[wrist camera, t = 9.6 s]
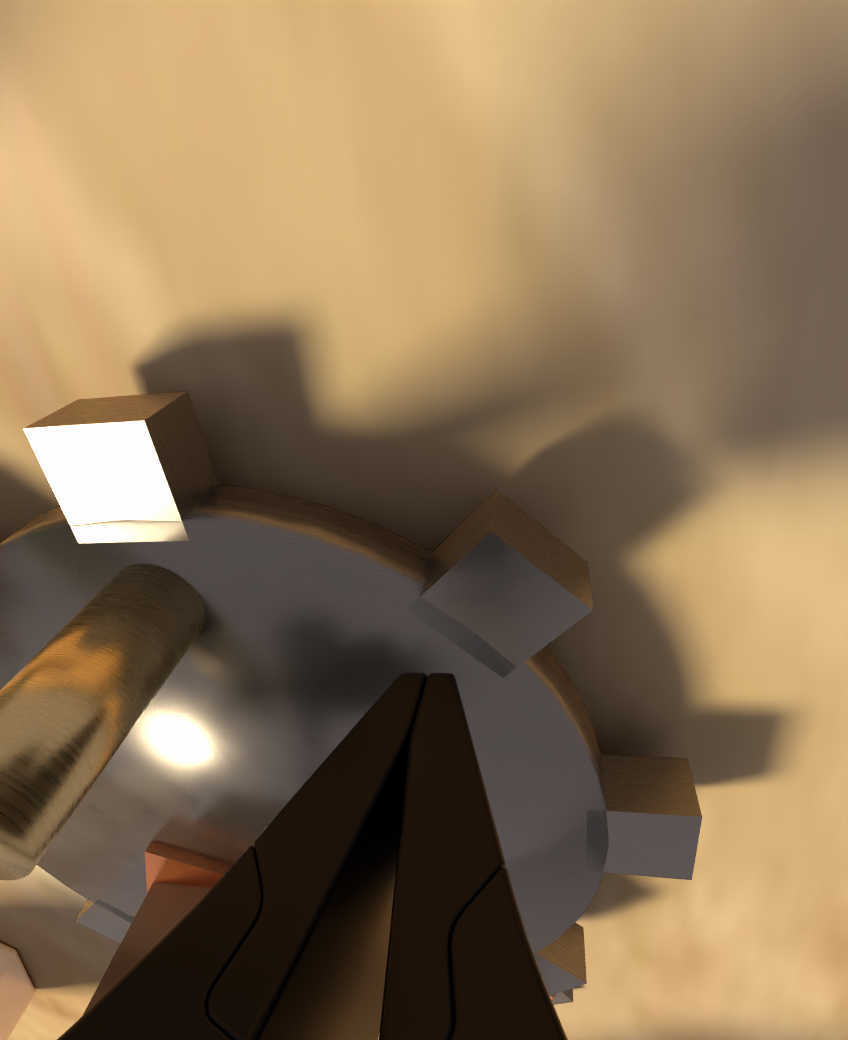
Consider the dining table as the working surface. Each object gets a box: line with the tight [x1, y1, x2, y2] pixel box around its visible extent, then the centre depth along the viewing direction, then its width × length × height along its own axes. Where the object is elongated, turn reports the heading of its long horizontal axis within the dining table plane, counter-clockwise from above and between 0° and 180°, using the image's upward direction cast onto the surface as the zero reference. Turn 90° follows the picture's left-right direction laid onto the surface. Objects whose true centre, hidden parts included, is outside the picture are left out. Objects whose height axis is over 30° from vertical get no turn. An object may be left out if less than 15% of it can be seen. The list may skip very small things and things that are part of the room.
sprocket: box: [0, 391, 702, 996], centre depth 14 cm, size 22×22×6 cm
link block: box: [83, 882, 212, 1015], centre depth 17 cm, size 4×4×4 cm
